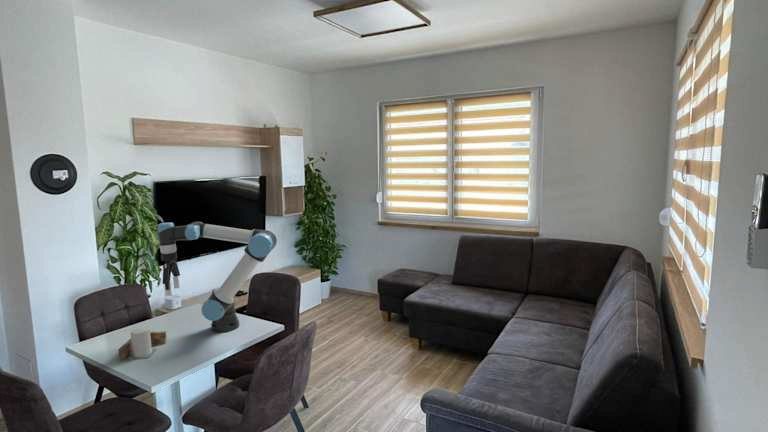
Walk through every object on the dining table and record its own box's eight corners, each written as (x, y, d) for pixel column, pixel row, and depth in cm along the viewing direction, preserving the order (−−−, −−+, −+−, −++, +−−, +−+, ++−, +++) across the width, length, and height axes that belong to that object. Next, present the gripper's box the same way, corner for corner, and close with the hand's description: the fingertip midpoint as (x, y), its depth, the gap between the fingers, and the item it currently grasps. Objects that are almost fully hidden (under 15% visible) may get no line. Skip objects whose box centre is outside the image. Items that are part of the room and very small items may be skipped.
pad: (157, 349, 212) (157, 348, 212) (148, 357, 202) (148, 357, 202) (136, 350, 211) (135, 350, 211) (126, 359, 201) (126, 358, 201)
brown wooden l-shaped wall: (166, 342, 221) (165, 331, 220) (150, 359, 201) (149, 347, 200) (138, 343, 219) (137, 332, 218) (119, 361, 199) (118, 349, 199)
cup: (155, 350, 210) (153, 327, 209) (143, 357, 202) (141, 333, 201) (141, 349, 212) (139, 326, 210) (128, 356, 204) (126, 332, 202)
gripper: (168, 248, 231) (172, 286, 234) (152, 257, 207) (157, 299, 209) (183, 247, 233) (187, 284, 235) (168, 256, 208) (173, 298, 211)
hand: (173, 291), depth 222 cm, fingers open, 13 cm apart
